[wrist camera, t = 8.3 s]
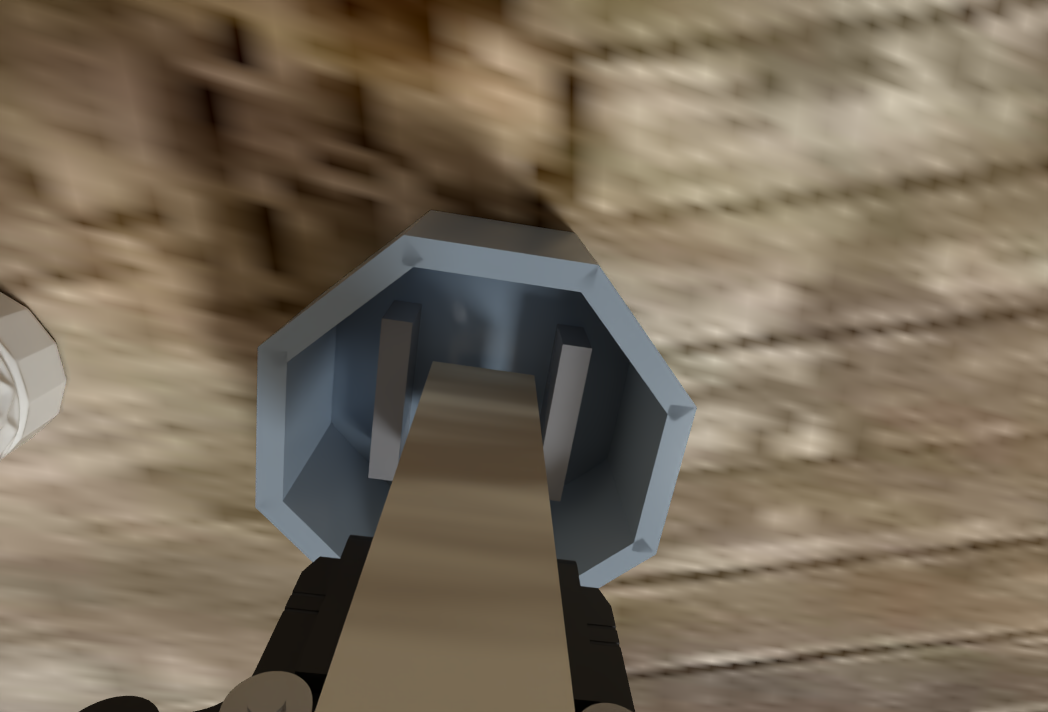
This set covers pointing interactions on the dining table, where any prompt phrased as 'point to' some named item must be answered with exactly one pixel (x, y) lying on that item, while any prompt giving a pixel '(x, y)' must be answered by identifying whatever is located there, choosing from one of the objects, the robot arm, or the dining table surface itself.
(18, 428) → the white cup
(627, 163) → the dining table surface
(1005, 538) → the dining table surface
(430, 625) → the tan square peg
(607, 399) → the blue octagonal holder
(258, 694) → the robot arm
